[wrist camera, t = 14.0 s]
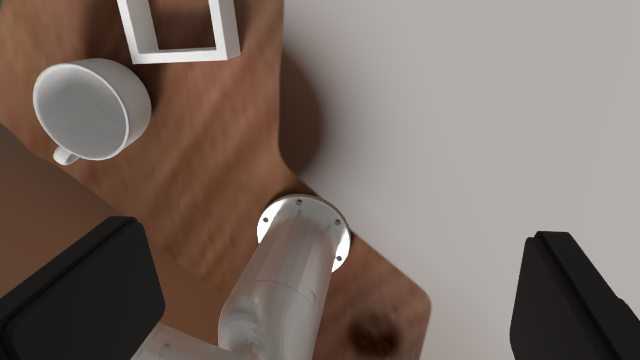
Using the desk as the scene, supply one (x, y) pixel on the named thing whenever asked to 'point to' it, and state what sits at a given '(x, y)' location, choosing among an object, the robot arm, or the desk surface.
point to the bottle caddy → (147, 50)
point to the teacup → (91, 108)
